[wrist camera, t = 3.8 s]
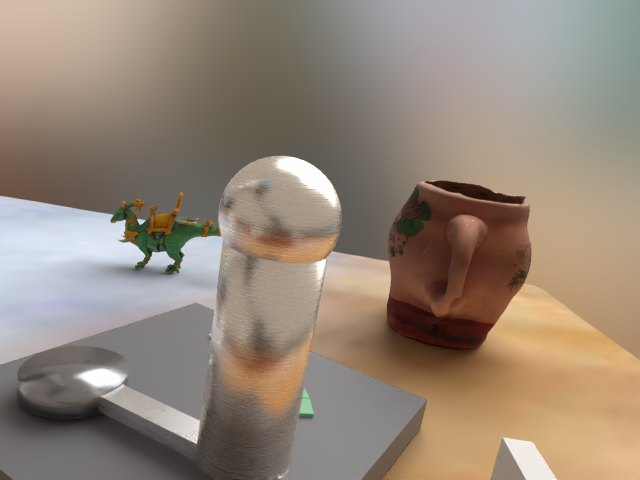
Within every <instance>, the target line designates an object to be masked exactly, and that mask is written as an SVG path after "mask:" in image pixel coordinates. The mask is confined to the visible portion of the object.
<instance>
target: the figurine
mask: <svg viewBox="0 0 640 480" xmlns="http://www.w3.org/2000/svg"><path fill="white" fill-rule="evenodd" d="M182 197H183V193H182V192H181V193H180V195H179V198H178V202H177V204H176V206H175V208H174V210H173V213H171V214H159V215H156V214H155V213H154V211H156V210H157V208H156V206H152V207H149V209H150V213H151V218H149V219H148V220H146V221H145V222H144V223H143V224H142V225H140V224H139V223H138V221H137V217H136V214H135V213H134V212H132V211H131V210H130V209H129V208H130V207H132V206H138V207H139V209H138V207H137V210H141V207H143V206H144V205H143V203H144V202H143V203H142V202H139V200H140V199H137V201H136V202H133V203H129V204H127V205H126V203H125V202H123V203H122V205H123V207H121V208H120V209H119V210H118V211H116V213H115V214H114V216H113V217H112V219H111V223H115V222H116V221H122V220H126V223H125V226H126V229H125V231H124V234H125V236H123V237H124V238H126V239H124V240H119V241H120V242H129V241H130V242H131V243H133V244H135V245H136V246H138V247H139V249H140V250H141V251H142V252H143V253H144V254H145V256H146V257H145V258H144V260H143V262H138V263H137V264H138V265H142V266H135V268H136V269H142V268H144V266H145V265H146V264H147V263H148V261H149V260H150V257H151V256H152V252H163V251H166V252H167V254H168V255H169V257H170V258H172V259H174V260H175V263H174V264H173V265H171V264H170V265H168V268H172V267H173V268H172V269H167V270H166V274H170V273H173V272H175V271H176V272H177V273H179V271H178V268H179V269H180V268H181V267H180V263H181V262H182V260H183V259H182V258H183V256H184V254H183V253H182V252H181V250H180V249H181V248H182V247H183V246H184V245H185V243H186V242H187V241H189V240H190V239H192V238H194V237H200V236H202V237H207V236H218V237H219V236H221V233H220V228H219V229H217V228H213V227H209V224H211V226H212V225H213V223H212V222H210V221H209V220H207V222H206V225H202V224H197V223H196V222H192V221H195V220H197V219H188V218H182V217H177V214H178V211H179V209H180V206H181V205H180V203H181V200H182ZM140 201H141V200H140ZM144 204H145V203H144ZM152 208H155V209H154V211H153V209H152ZM121 236H122V235H121ZM117 240H118V239H117Z"/></svg>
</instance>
